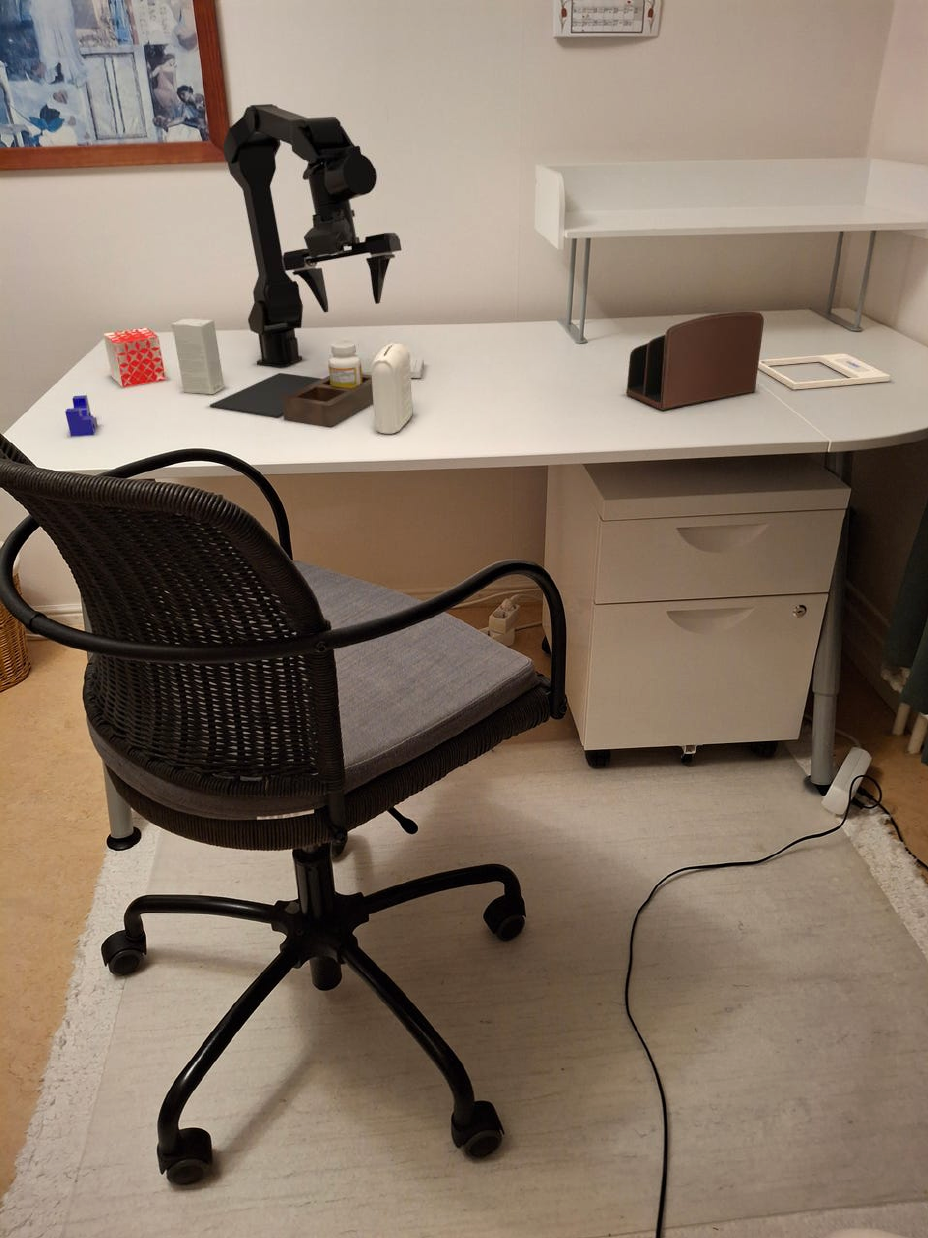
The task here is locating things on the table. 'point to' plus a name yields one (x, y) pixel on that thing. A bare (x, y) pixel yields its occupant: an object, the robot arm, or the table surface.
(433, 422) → the table surface
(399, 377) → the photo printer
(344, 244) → the robot arm
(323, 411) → the bottle holder
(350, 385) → the supplement bottle
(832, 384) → the photo frame
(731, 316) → the letter holder
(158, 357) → the puzzle cube
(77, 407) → the cable holder
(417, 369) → the hard drive
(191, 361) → the cosmetic box
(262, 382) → the desk mat
